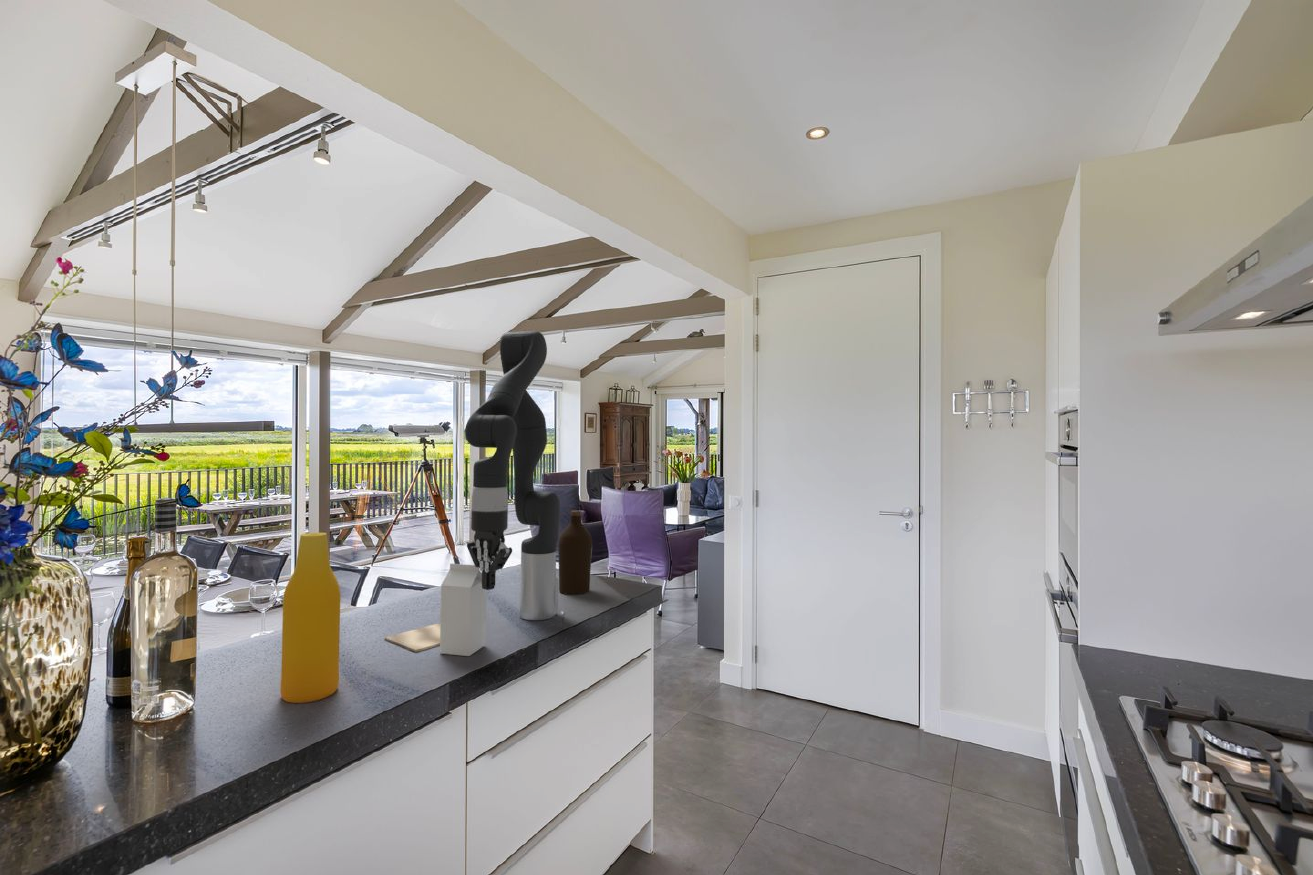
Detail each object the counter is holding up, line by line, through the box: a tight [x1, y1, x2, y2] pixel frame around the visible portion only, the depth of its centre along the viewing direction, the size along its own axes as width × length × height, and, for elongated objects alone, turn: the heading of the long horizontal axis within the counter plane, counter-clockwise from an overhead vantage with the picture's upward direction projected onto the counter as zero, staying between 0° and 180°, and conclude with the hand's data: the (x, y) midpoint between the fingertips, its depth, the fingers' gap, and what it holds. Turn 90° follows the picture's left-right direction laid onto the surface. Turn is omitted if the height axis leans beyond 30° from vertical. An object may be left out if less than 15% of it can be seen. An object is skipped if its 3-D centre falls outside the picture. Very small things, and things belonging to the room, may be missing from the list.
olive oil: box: [557, 510, 593, 596], centre depth 185 cm, size 11×11×25 cm
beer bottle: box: [279, 532, 342, 704], centre depth 109 cm, size 9×9×29 cm
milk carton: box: [439, 563, 487, 657], centre depth 132 cm, size 7×7×19 cm
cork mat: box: [383, 622, 441, 653], centre depth 140 cm, size 15×13×1 cm
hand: (488, 588), depth 127 cm, fingers closed
